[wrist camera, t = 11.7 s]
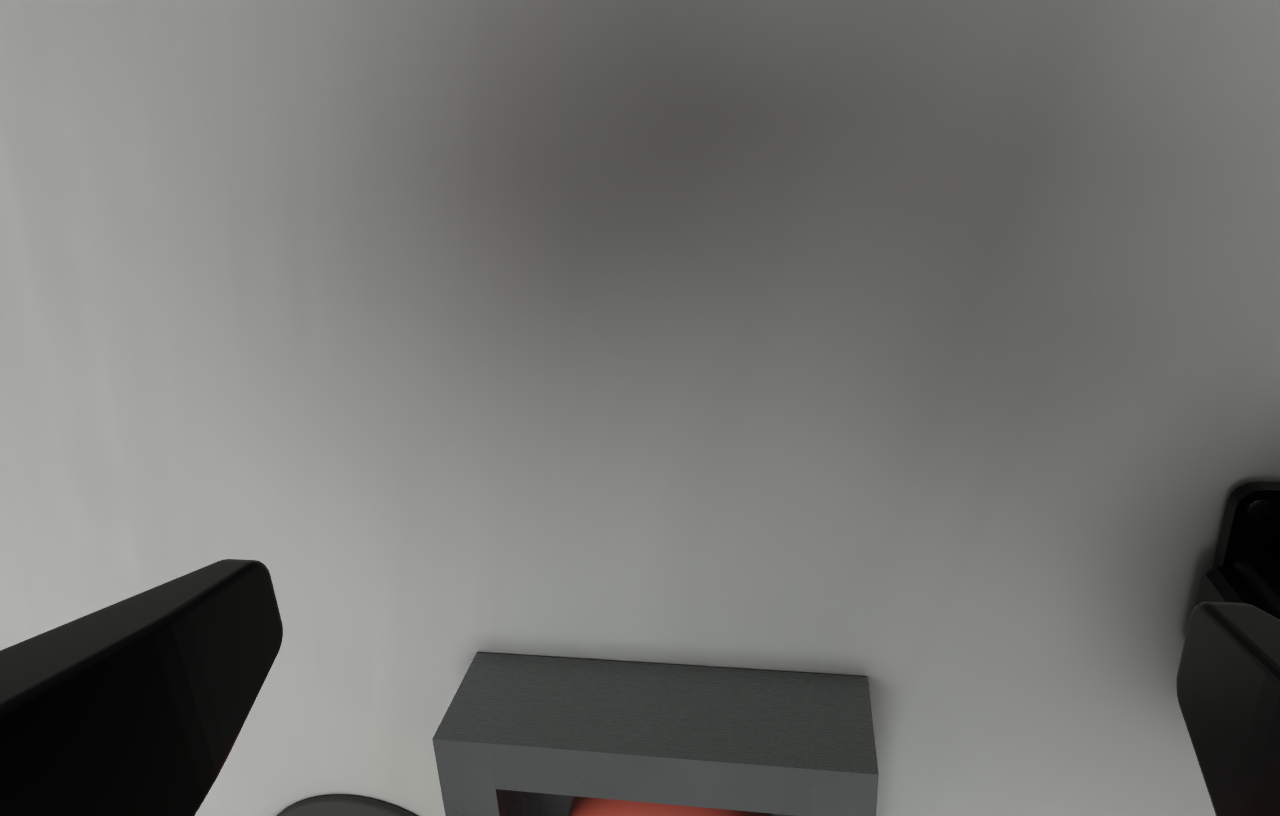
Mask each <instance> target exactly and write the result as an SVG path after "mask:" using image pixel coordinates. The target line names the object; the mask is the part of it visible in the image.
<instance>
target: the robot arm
mask: <svg viewBox="0 0 1280 816" xmlns="http://www.w3.org/2000/svg"><path fill="white" fill-rule="evenodd" d="M1258 500H1264V503H1263V505H1262V507H1260V508H1259V509H1257V510H1255V511H1247V509H1248V507H1249V505H1250V504H1252V503H1253V502H1255V501H1258ZM282 636H283V627H282V621H281V617H280V613H279V609H278V605H277V601H276V597H275V593H274V588H273V584H272V580H271V576H270V573H269V570H268V569H267V567H266V566H265V565H264V564H263V563H261V562H260V561H256V560H236V559H226V560H221V561H218V562H216V563H213V564H211V565H208V566H206V567H204V568H201V569H199V570H196V571H194V572H191V573H189V574H187V575H184V576H182V577H179V578H177V579H174V580H172V581H169V582H167V583H165V584H162V585H160V586H157V587H155V588H152V589H150V590H147V591H145V592H143V593H140V594H138V595H135V596H133V597H130V598H128V599H125V600H123V601H121V602H118V603H116V604H113V605H111V606H108V607H106V608H104V609H101V610H99V611H96V612H94V613H91V614H89V615H86V616H84V617H82V618H79V619H77V620H74V621H72V622H69V623H67V624H64V625H62V626H60V627H57V628H55V629H52V630H50V631H47V632H45V633H42V634H40V635H38V636H35V637H33V638H30V639H28V640H25V641H23V642H20V643H18V644H16V645H13V646H11V647H8V648H6V649H3V650H1V651H0V816H194V815H195V814H196V812H197V810H198V809H199V807H200V805H201V804H202V802H203V801H204V799H205V797H206V795H207V794H208V792H209V790H210V789H211V787H212V785H213V783H214V782H215V780H216V778H217V776H218V774H219V772H220V771H221V769H222V767H223V765H224V763H225V761H226V759H227V757H228V755H229V753H230V751H231V749H232V747H233V745H234V743H235V741H236V739H237V737H238V735H239V732H240V730H241V728H242V726H243V724H244V722H245V720H246V718H247V716H248V714H249V712H250V710H251V708H252V706H253V704H254V701H255V699H256V697H257V695H258V693H259V691H260V689H261V687H262V685H263V683H264V681H265V679H266V677H267V675H268V672H269V670H270V668H271V666H272V664H273V662H274V660H275V658H276V656H277V654H278V652H279V649H280V646H281V642H282ZM1177 696H1178V701H1179V705H1180V708H1181V711H1182V714H1183V717H1184V720H1185V723H1186V726H1187V729H1188V732H1189V735H1190V738H1191V741H1192V744H1193V747H1194V750H1195V753H1196V756H1197V759H1198V762H1199V765H1200V768H1201V771H1202V774H1203V777H1204V780H1205V783H1206V786H1207V789H1208V792H1209V795H1210V798H1211V801H1212V804H1213V807H1214V810H1215V813H1216V816H1280V483H1279V482H1252V483H1246V484H1244V485H1242V486H1239V487H1238V488H1236V489H1235V490H1234V491H1233V492H1232V493H1231V495H1230V497H1229V499H1228V502H1227V506H1226V511H1225V515H1224V520H1223V524H1222V528H1221V533H1220V537H1219V542H1218V546H1217V551H1216V555H1215V560H1214V564H1213V566H1211V567H1210V568H1209V569H1208V570H1207V571H1206V572H1205V573H1204V574H1203V576H1202V580H1201V585H1200V589H1199V594H1198V598H1197V603H1196V606H1195V607H1194V609H1193V611H1192V613H1191V615H1190V618H1189V623H1188V627H1187V632H1186V637H1185V642H1184V646H1183V651H1182V656H1181V660H1180V665H1179V670H1178V675H1177Z"/></svg>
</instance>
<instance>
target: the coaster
mask: <svg viewBox="0 0 1280 816" xmlns="http://www.w3.org/2000/svg"><path fill="white" fill-rule="evenodd" d="M277 816H416V815H414V814H412V813H410V812H408V811H405V810H403V809H401V808H399V807H397V806H394V805H391V804H388V803H385V802H382V801H378V800H374V799H370V798H366V797H359V796H352V795H326V796H319V797H314V798H309V799H306V800H303V801H300V802H297V803H295V804H293V805H291V806H290V807H288V808H286V809H285V810H283V811H282V812H281V813H280V814H278V815H277Z"/></svg>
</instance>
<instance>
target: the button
mask: <svg viewBox="0 0 1280 816" xmlns="http://www.w3.org/2000/svg"><path fill="white" fill-rule="evenodd" d="M568 816H769V815H768V813H760V812H749V811H737V810H726V809H715V808H703V807H692V806H681V805H669V804H658V803H647V802H635V801H624V800H613V799H602V798H590V797H579V796H574V797H573V800H572V803H571V807H570V810H569V814H568Z"/></svg>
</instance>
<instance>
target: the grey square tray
mask: <svg viewBox="0 0 1280 816" xmlns="http://www.w3.org/2000/svg"><path fill="white" fill-rule="evenodd" d="M433 745H434V751H435V756H436V762H437V768H438V774H439V779H440V785H441V791H442V797H443V802H444V808H445V814H446V816H568V814H569V810H570V807H571V803H572V800H573V797H574V796H579V797H590V798H602V799H613V800H624V801H635V802H647V803H658V804H669V805H681V806H692V807H703V808H715V809H726V810H737V811H749V812H760V813H768V815H769V816H876V801H877V786H878V768H877V759H876V749H875V740H874V731H873V722H872V713H871V704H870V695H869V686H868V677H862V676H846V675H830V674H814V673H798V672H782V671H766V670H750V669H734V668H718V667H702V666H686V665H670V664H654V663H638V662H622V661H606V660H590V659H574V658H558V657H542V656H526V655H510V654H494V653H478V652H477V653H476V655H475V657H474V659H473V661H472V663H471V665H470V667H469V669H468V671H467V673H466V675H465V677H464V679H463V681H462V682H461V684H460V686H459V688H458V690H457V692H456V694H455V696H454V698H453V700H452V702H451V704H450V706H449V708H448V710H447V712H446V714H445V716H444V718H443V720H442V721H441V723H440V725H439V727H438V729H437V731H436V733H435V735H434V737H433Z"/></svg>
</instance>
